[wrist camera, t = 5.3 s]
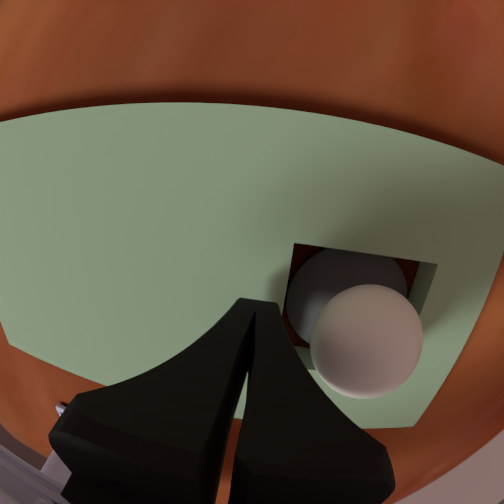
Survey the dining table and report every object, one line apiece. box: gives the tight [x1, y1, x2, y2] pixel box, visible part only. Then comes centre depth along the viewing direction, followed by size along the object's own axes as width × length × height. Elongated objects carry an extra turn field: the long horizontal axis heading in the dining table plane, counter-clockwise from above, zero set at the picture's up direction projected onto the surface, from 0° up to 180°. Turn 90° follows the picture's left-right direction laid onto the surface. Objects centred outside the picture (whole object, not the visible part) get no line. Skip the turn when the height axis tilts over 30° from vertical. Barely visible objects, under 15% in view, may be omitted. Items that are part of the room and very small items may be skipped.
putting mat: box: [0, 103, 504, 428], centre depth 12 cm, size 14×26×2 cm, turn 84°
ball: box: [310, 284, 423, 399], centre depth 10 cm, size 4×4×4 cm
